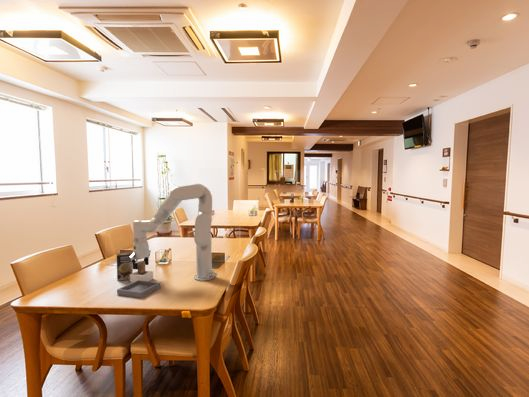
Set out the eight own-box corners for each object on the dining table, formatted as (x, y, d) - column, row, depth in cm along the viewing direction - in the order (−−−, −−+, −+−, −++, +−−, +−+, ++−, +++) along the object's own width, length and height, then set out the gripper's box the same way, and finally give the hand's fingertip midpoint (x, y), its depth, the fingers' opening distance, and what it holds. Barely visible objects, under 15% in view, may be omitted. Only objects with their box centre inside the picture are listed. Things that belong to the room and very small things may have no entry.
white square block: (153, 278, 192) (153, 271, 191) (142, 283, 183) (142, 275, 182) (141, 277, 195) (140, 269, 194) (130, 282, 186) (129, 274, 185)
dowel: (147, 279, 190) (146, 261, 189) (142, 282, 186) (141, 262, 185) (141, 279, 192) (140, 260, 191) (136, 281, 187) (135, 262, 186)
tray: (160, 287, 176) (160, 282, 176) (141, 298, 161) (141, 292, 161) (137, 284, 181) (137, 279, 181) (117, 294, 166) (117, 289, 166)
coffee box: (117, 281, 188) (116, 255, 187) (117, 278, 194) (115, 253, 192) (133, 278, 192) (132, 253, 191) (132, 275, 198) (131, 251, 197)
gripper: (135, 243, 178) (135, 271, 179) (154, 237, 194) (155, 263, 195) (124, 242, 180) (125, 270, 181) (144, 236, 196) (145, 262, 198)
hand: (140, 266), depth 188 cm, fingers open, 9 cm apart
